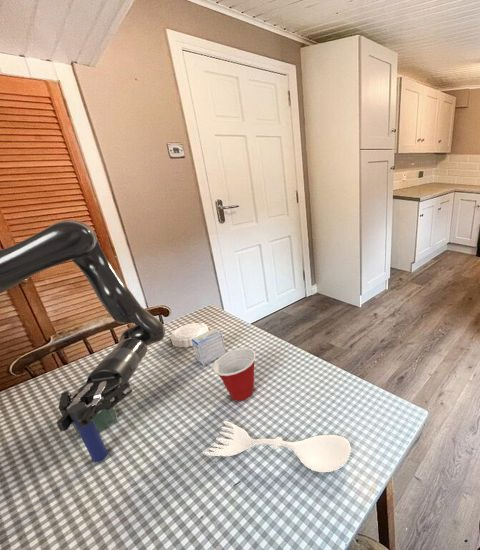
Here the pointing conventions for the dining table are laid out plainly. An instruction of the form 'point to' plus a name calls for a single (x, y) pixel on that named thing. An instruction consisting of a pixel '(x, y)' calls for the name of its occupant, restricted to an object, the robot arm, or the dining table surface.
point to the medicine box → (208, 346)
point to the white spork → (312, 452)
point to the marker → (88, 433)
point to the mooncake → (187, 334)
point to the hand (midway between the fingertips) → (71, 425)
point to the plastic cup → (237, 372)
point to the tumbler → (102, 419)
